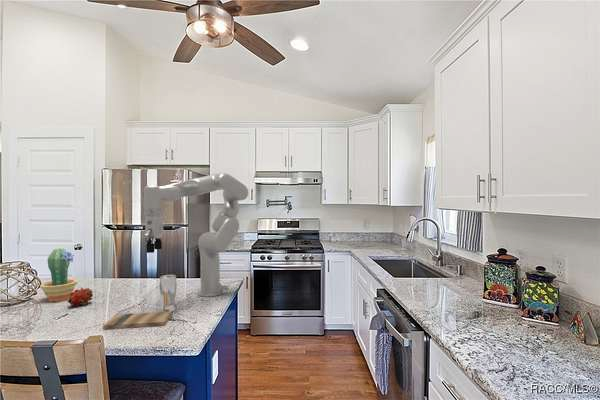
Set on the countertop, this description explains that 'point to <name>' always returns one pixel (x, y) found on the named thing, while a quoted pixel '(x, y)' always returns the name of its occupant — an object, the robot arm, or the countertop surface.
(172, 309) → the beer glass
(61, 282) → the potted cactus
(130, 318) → the oak board
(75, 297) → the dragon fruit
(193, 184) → the robot arm
